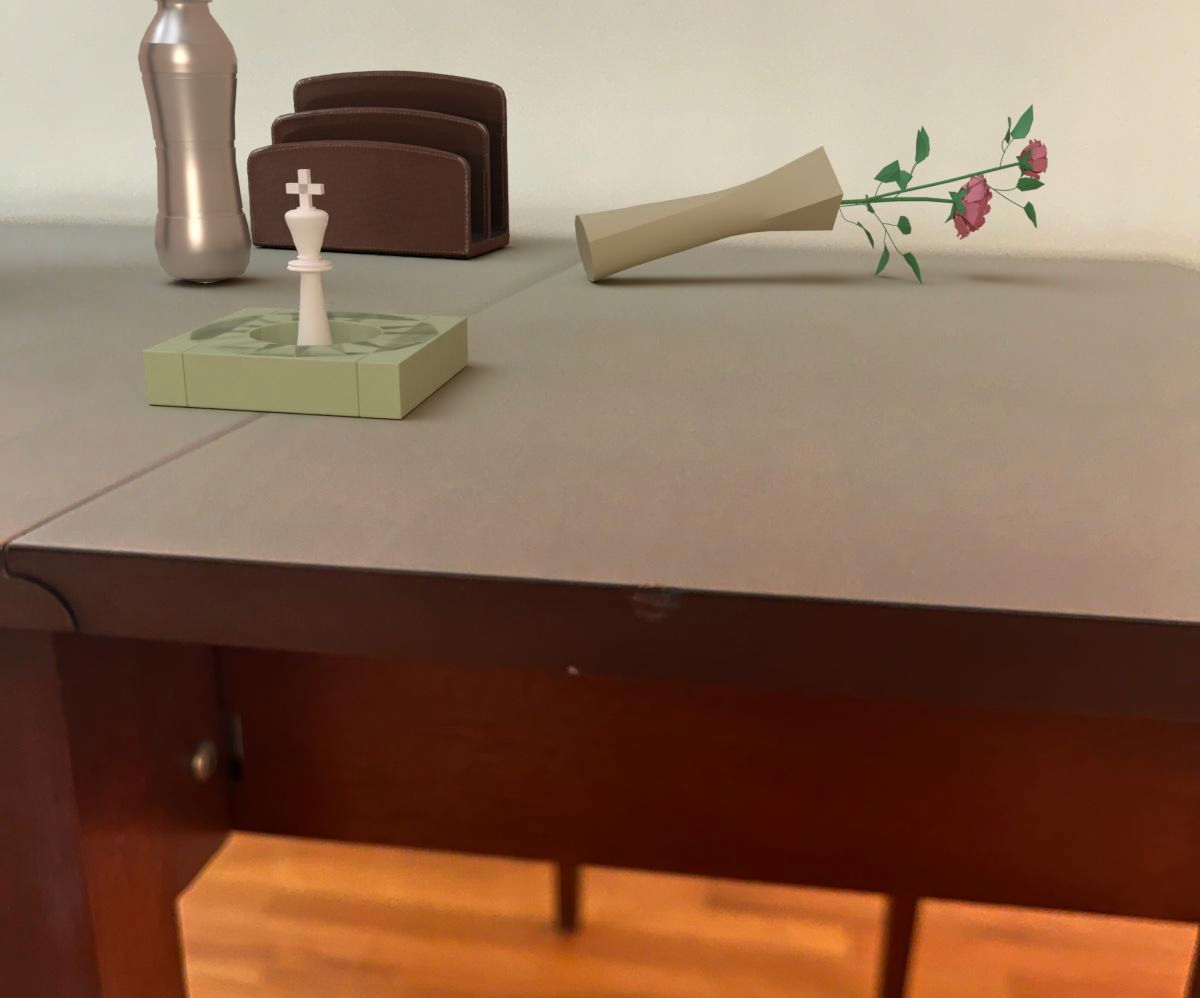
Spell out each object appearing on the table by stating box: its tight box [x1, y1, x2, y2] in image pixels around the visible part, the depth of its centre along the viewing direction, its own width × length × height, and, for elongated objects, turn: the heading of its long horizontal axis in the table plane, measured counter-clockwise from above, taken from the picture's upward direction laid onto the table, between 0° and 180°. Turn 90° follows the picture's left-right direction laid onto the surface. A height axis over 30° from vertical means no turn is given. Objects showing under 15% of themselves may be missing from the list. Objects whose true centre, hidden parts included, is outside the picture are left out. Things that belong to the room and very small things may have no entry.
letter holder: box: [246, 69, 511, 259], centre depth 111 cm, size 10×20×14 cm, turn 74°
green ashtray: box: [141, 306, 469, 420], centre depth 65 cm, size 12×12×2 cm
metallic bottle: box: [137, 0, 252, 284], centre depth 90 cm, size 6×7×20 cm
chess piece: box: [285, 169, 334, 345], centre depth 63 cm, size 5×5×10 cm
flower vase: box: [574, 103, 1049, 285], centre depth 99 cm, size 12×12×35 cm
